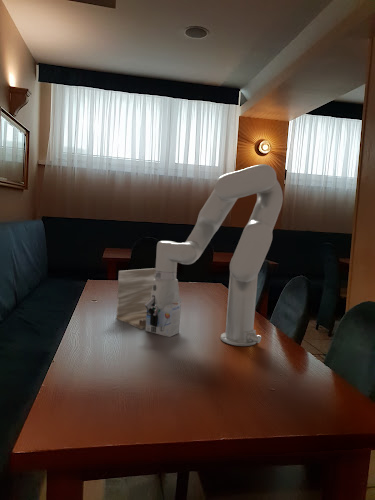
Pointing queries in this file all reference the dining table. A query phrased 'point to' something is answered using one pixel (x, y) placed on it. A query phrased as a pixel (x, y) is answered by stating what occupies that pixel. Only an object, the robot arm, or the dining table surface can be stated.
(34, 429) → the dining table surface
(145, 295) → the board
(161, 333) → the light bulb box
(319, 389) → the dining table surface
